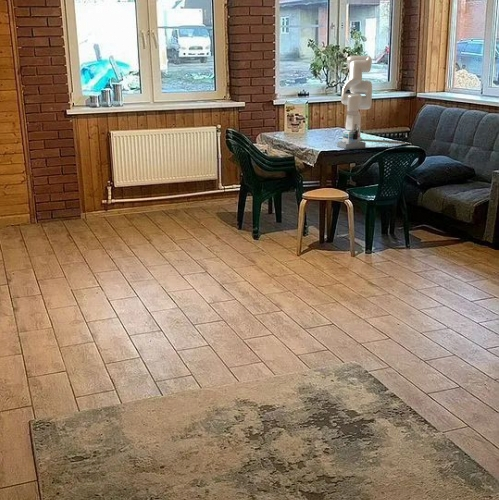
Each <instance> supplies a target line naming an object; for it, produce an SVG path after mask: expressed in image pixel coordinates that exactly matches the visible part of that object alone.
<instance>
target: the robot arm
mask: <svg viewBox="0 0 499 500" xmlns="http://www.w3.org/2000/svg"><path fill="white" fill-rule="evenodd" d="M372 63H373V62H372V57H371V56H370V55H349V56H348V57H347V58H346V65H347V68H348V70H349V72H348V80H347V81H346V82H345V83H344V84H343V86H342V89H341V94H340V95H341V96H340V101H341V104H343V105H345V106H346V105H347V106H346V109H347V111H346V116H345V117H346V119H345V125H344V126H345V131H347V130H350V131H353V132H354V134H353V140H357V139H358V132H359V131H361V127H362V126H361V123H362V122H361V121H362V115H361V112H360V111H359V110H369V109H371V108H372V99H373V84H372V82H371V81H370V80H363V73H369V72H371V69H372ZM348 90H349V92H350V93H347V91H348ZM362 140H363V137H361V136H360V141H362Z"/></svg>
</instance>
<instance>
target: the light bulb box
mask: <svg viewBox="0 0 499 500" xmlns="http://www.w3.org/2000/svg"><path fill="white" fill-rule="evenodd" d="M342 132H343V133H342V141H343V143H345V144H351V143H360V141H361V140H360V137H361V130H360V131H359V132H358V139H357V140H353V134H354V132H353V131H350V130H347V131H346V130H343V131H342Z"/></svg>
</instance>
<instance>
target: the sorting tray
mask: <svg viewBox="0 0 499 500" xmlns="http://www.w3.org/2000/svg"><path fill="white" fill-rule="evenodd" d="M366 144H367V143H366V142H365V141H362V140H360V143H351V144H345V143H343V140H342V141H341V140H340V141H337V148H339V149H343V148H344V149H343V150H352V149H365V148H367V147H366V146H367V145H366Z"/></svg>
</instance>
